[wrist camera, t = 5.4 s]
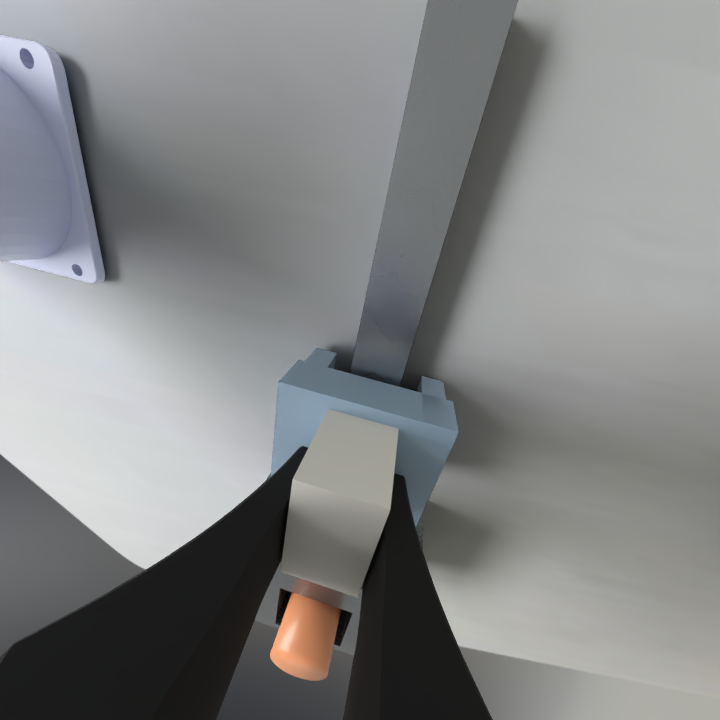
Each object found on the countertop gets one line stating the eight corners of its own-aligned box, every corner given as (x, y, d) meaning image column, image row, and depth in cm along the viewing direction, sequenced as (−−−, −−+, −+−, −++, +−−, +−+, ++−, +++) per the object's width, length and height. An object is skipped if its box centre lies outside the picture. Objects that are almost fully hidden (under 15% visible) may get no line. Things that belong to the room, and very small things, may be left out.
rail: (331, 477, 16) (323, 500, 15) (434, 2, 8) (437, -46, 6) (365, 487, 16) (360, 512, 14) (508, 14, 8) (528, -34, 6)
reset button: (303, 565, 15) (268, 666, 12) (308, 539, 14) (272, 641, 11) (345, 579, 15) (323, 686, 12) (353, 554, 14) (331, 663, 11)
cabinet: (274, 517, 18) (228, 611, 14) (281, 455, 16) (227, 543, 11) (397, 557, 18) (390, 668, 13) (423, 498, 15) (425, 610, 11)
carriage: (299, 434, 14) (225, 562, 9) (311, 346, 12) (222, 442, 7) (415, 468, 14) (412, 626, 8) (449, 383, 12) (475, 519, 6)
